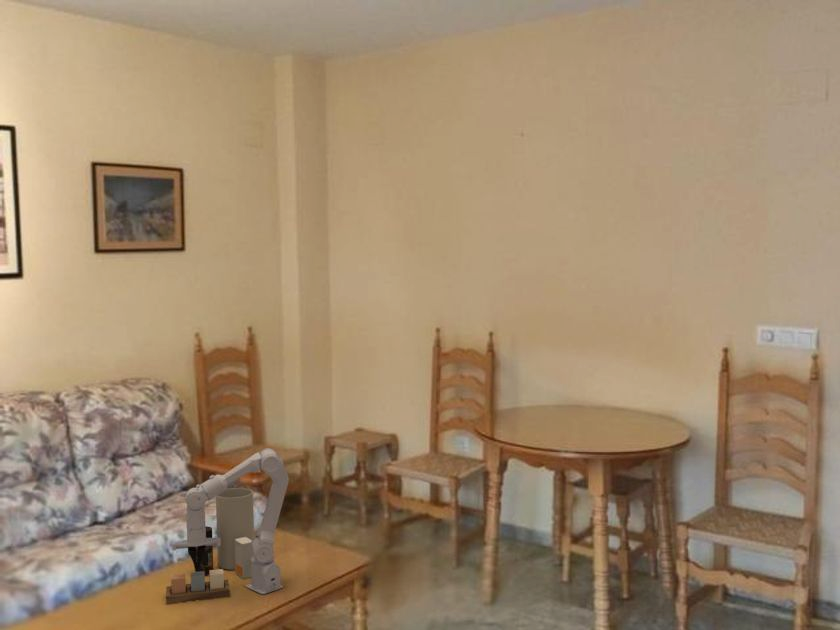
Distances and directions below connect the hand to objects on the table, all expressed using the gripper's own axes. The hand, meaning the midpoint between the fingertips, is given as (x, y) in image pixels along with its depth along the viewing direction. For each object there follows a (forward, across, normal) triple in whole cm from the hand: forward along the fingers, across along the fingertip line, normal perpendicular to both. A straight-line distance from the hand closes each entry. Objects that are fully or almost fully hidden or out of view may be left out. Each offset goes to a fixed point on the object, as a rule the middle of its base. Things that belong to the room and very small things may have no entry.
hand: (197, 569), depth 258 cm
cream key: (+6, -6, 0) cm, 8 cm away
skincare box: (+8, -16, -12) cm, 21 cm away
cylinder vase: (+8, -13, -24) cm, 29 cm away
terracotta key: (+6, +6, 0) cm, 8 cm away
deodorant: (+8, -2, -19) cm, 21 cm away
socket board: (+8, 0, 0) cm, 8 cm away
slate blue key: (+6, 0, 0) cm, 6 cm away
